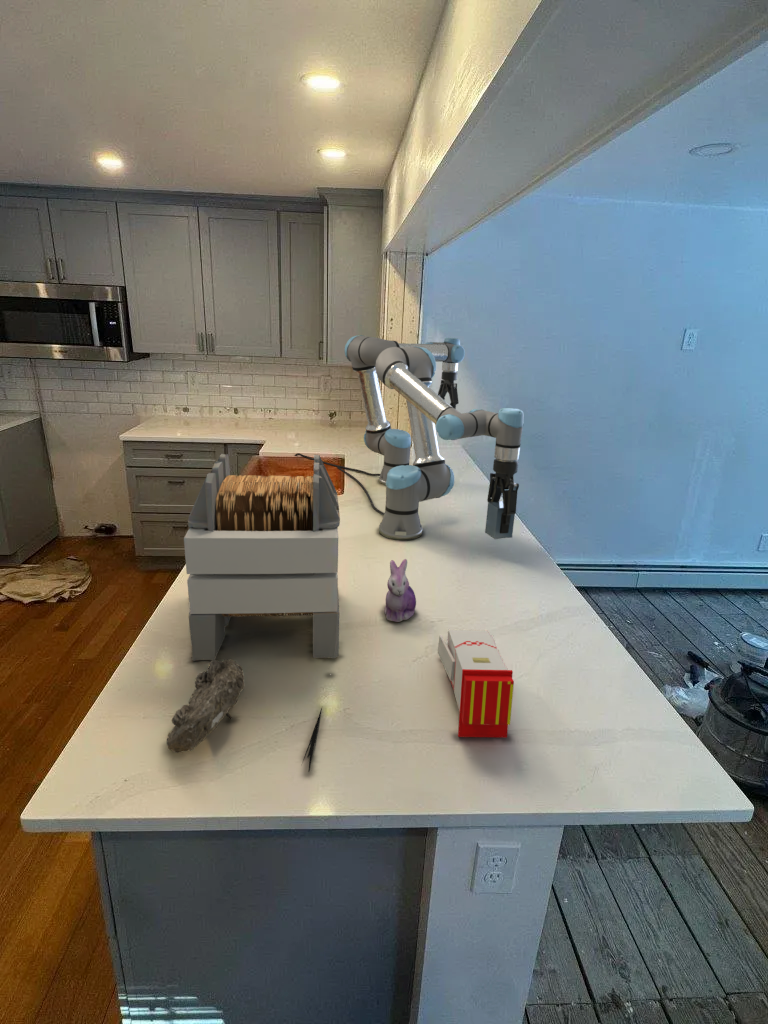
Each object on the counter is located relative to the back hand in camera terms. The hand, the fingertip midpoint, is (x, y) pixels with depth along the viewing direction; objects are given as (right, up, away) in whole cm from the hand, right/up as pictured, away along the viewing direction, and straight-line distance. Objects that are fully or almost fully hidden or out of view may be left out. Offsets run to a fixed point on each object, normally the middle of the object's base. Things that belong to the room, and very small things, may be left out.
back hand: (446, 415), depth 280 cm
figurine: (-27, -74, -133) cm, 154 cm away
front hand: (+6, -53, -97) cm, 111 cm away
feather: (-43, -88, -172) cm, 197 cm away
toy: (-13, -85, -162) cm, 183 cm away
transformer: (-59, -75, -139) cm, 169 cm away
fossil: (-64, -87, -172) cm, 203 cm away
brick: (+6, -55, -97) cm, 111 cm away
